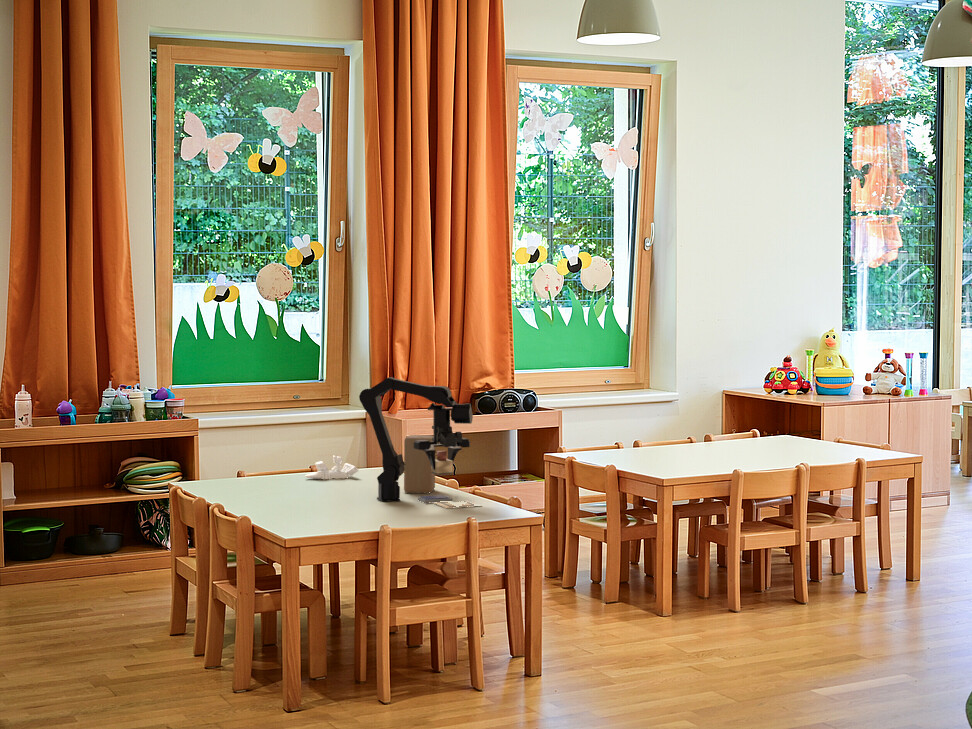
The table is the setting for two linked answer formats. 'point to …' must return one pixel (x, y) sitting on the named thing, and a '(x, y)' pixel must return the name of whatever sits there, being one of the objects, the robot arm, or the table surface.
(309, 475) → the white coral
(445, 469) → the stamp
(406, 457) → the wooden block
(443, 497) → the ink pad
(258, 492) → the table surface
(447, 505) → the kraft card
